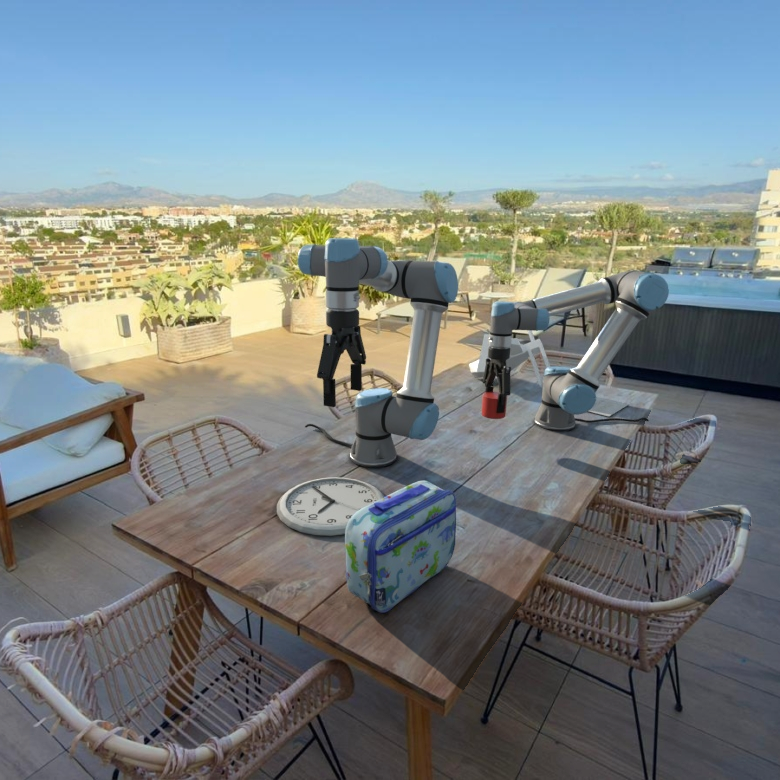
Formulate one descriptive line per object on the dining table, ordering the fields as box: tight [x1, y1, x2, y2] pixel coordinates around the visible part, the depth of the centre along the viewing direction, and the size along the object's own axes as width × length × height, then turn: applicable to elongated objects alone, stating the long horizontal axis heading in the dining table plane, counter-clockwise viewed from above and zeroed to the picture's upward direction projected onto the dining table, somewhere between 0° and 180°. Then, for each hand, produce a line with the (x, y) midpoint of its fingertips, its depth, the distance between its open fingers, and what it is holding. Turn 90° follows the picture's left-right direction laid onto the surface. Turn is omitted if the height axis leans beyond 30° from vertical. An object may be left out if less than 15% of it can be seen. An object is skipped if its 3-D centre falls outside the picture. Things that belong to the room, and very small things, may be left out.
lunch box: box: [344, 480, 457, 614], centre depth 109 cm, size 26×11×21 cm, turn 135°
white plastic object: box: [468, 330, 551, 390], centre depth 257 cm, size 37×45×31 cm
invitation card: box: [587, 396, 629, 418], centre depth 226 cm, size 21×1×15 cm
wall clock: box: [276, 476, 386, 537], centre depth 142 cm, size 30×2×30 cm
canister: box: [481, 391, 508, 420], centre depth 187 cm, size 8×8×8 cm
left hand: (343, 397), depth 125 cm, fingers open, 13 cm apart
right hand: (494, 408), depth 188 cm, fingers closed on canister, 8 cm apart
